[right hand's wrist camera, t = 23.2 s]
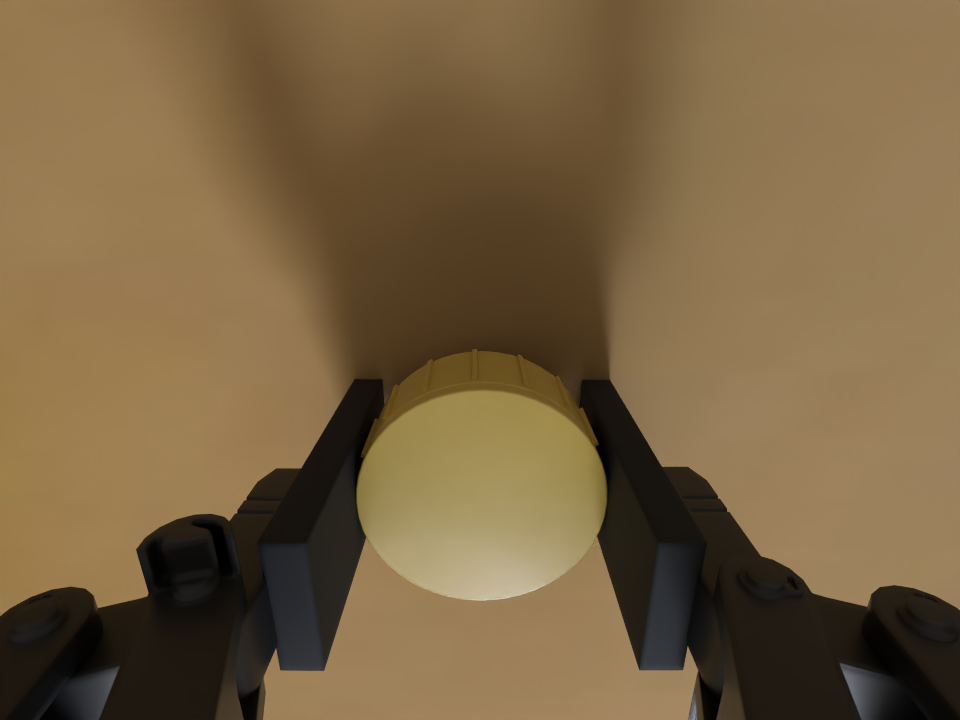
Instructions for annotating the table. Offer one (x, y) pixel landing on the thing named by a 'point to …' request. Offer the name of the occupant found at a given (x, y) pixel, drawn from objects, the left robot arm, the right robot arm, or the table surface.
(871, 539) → the table surface
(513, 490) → the lid
